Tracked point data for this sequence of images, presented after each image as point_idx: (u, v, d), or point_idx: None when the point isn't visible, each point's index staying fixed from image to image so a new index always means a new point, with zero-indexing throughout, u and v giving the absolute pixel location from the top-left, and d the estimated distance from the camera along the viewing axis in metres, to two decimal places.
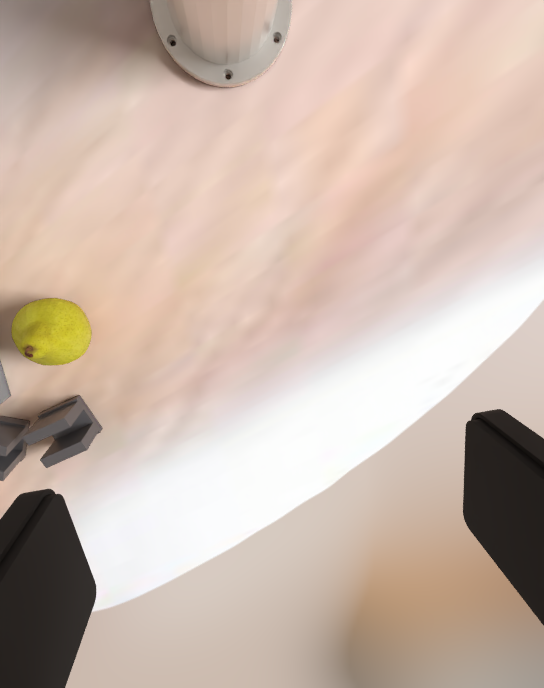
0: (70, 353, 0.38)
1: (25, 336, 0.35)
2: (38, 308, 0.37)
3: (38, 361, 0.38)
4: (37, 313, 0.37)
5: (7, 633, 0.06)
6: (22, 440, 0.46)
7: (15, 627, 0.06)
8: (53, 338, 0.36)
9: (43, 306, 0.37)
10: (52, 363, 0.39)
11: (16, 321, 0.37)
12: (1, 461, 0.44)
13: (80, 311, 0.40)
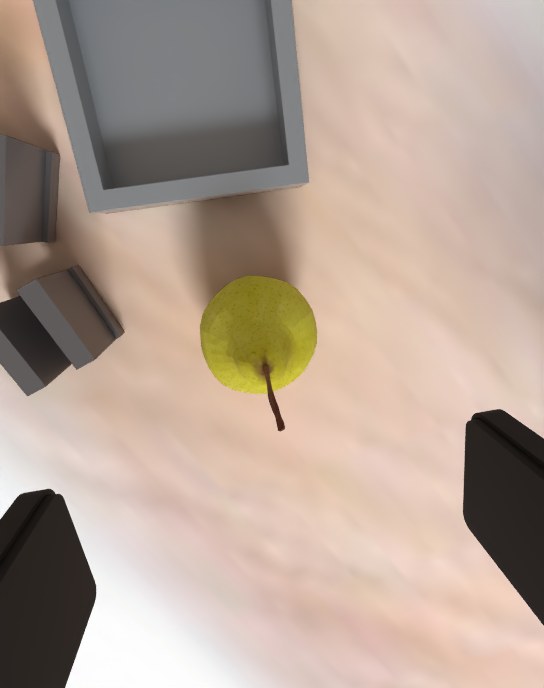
0: (233, 384, 0.22)
1: (283, 351, 0.19)
2: (310, 335, 0.22)
3: (214, 331, 0.21)
4: (305, 339, 0.21)
5: (7, 633, 0.06)
6: None
7: (15, 627, 0.06)
8: None
9: (313, 341, 0.22)
10: (211, 353, 0.21)
11: (288, 300, 0.21)
12: None
13: None
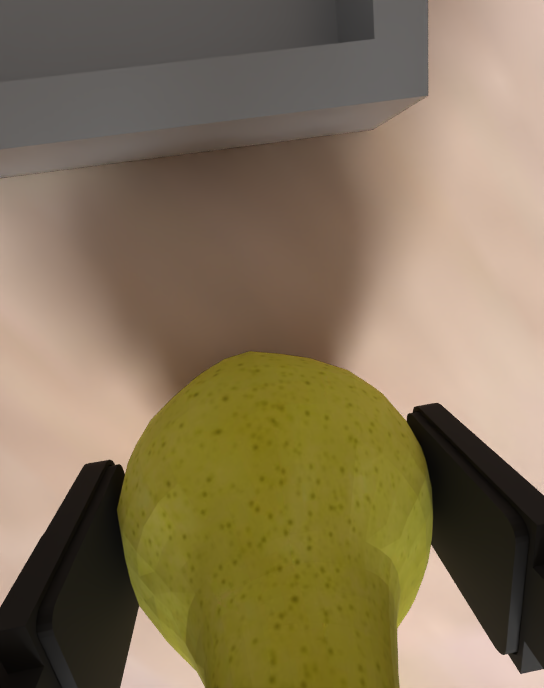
0: None
1: None
2: (429, 535, 0.08)
3: (148, 551, 0.07)
4: (420, 558, 0.07)
5: (92, 579, 0.07)
6: None
7: (97, 575, 0.07)
8: None
9: (430, 541, 0.08)
10: (144, 599, 0.07)
11: (377, 453, 0.07)
12: None
13: None
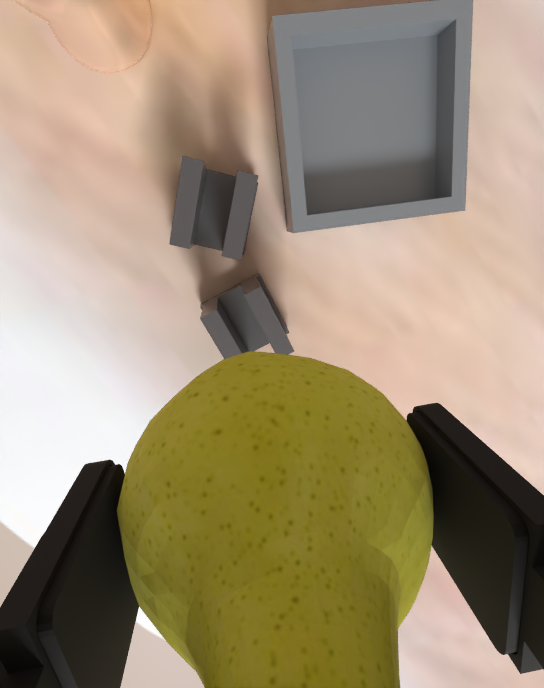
0: None
1: None
2: (430, 536, 0.08)
3: (148, 552, 0.07)
4: (420, 558, 0.07)
5: (92, 579, 0.07)
6: (214, 246, 0.28)
7: (97, 575, 0.07)
8: None
9: None
10: (144, 600, 0.07)
11: (377, 453, 0.07)
12: (194, 230, 0.25)
13: None
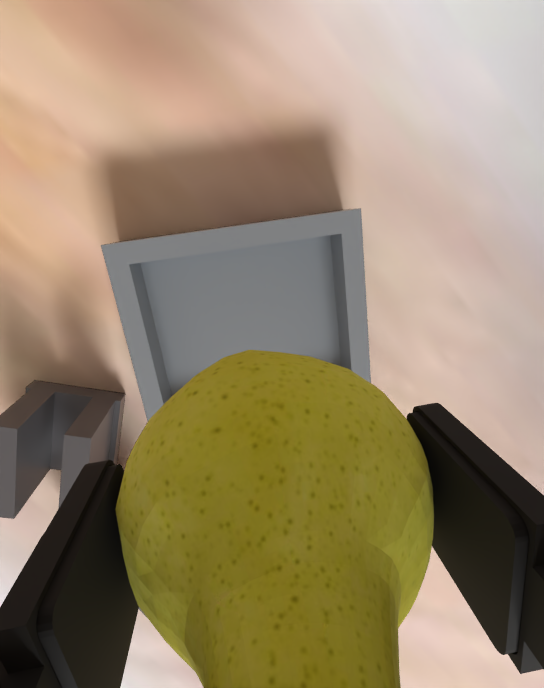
0: None
1: None
2: (430, 535, 0.08)
3: (147, 551, 0.07)
4: (421, 557, 0.07)
5: (92, 579, 0.07)
6: None
7: (97, 575, 0.07)
8: None
9: (431, 540, 0.08)
10: (142, 599, 0.07)
11: (377, 451, 0.07)
12: (30, 479, 0.20)
13: None
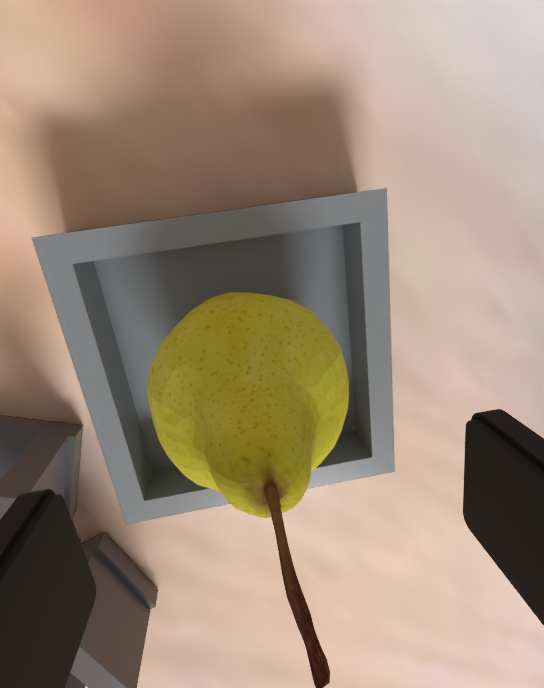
0: (211, 487, 0.12)
1: (303, 447, 0.09)
2: (342, 395, 0.12)
3: (169, 401, 0.11)
4: (334, 404, 0.12)
5: (7, 633, 0.06)
6: None
7: (15, 627, 0.06)
8: None
9: (345, 402, 0.13)
10: (167, 437, 0.12)
11: (302, 336, 0.11)
12: None
13: None
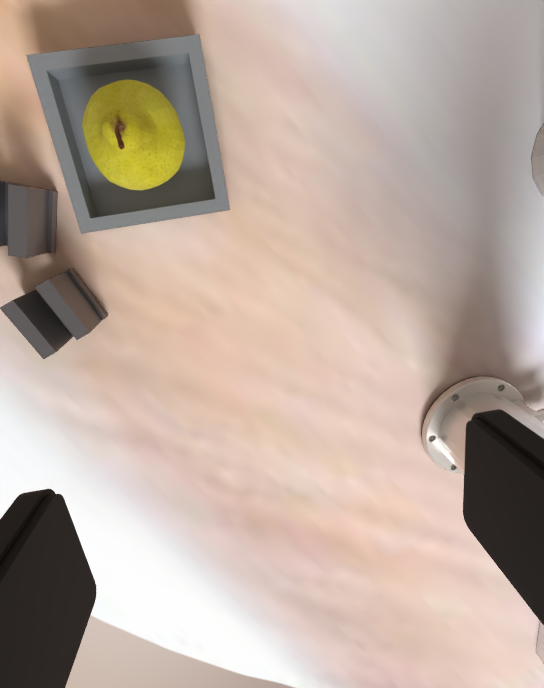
0: (113, 171, 0.27)
1: (136, 117, 0.24)
2: (172, 126, 0.27)
3: (89, 121, 0.26)
4: (166, 127, 0.26)
5: (7, 633, 0.06)
6: None
7: (15, 627, 0.06)
8: (137, 154, 0.25)
9: (176, 133, 0.27)
10: (90, 142, 0.26)
11: (148, 91, 0.26)
12: None
13: (171, 176, 0.30)
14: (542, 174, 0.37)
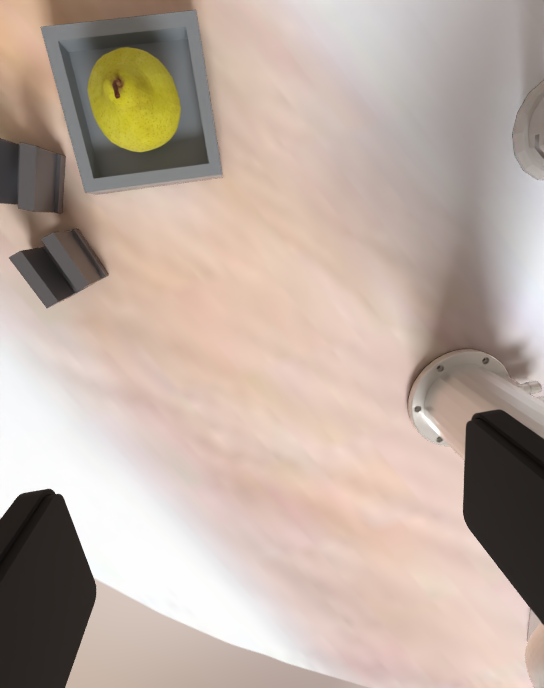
0: (113, 129, 0.29)
1: (134, 76, 0.26)
2: (167, 90, 0.29)
3: (93, 83, 0.28)
4: (162, 90, 0.29)
5: (7, 633, 0.06)
6: None
7: (15, 627, 0.06)
8: (134, 112, 0.28)
9: (171, 97, 0.30)
10: (94, 102, 0.29)
11: (146, 57, 0.28)
12: (2, 190, 0.33)
13: (168, 140, 0.32)
14: (523, 150, 0.39)
